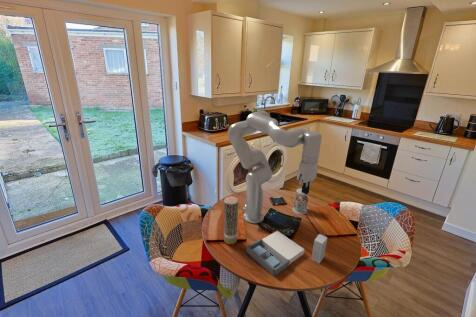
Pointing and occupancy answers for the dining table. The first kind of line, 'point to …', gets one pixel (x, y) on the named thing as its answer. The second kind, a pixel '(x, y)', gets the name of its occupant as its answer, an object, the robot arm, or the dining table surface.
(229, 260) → the dining table surface
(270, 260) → the tile
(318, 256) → the skincare box
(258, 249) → the tile
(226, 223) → the paper tube
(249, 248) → the tray
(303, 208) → the french press
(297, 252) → the board
